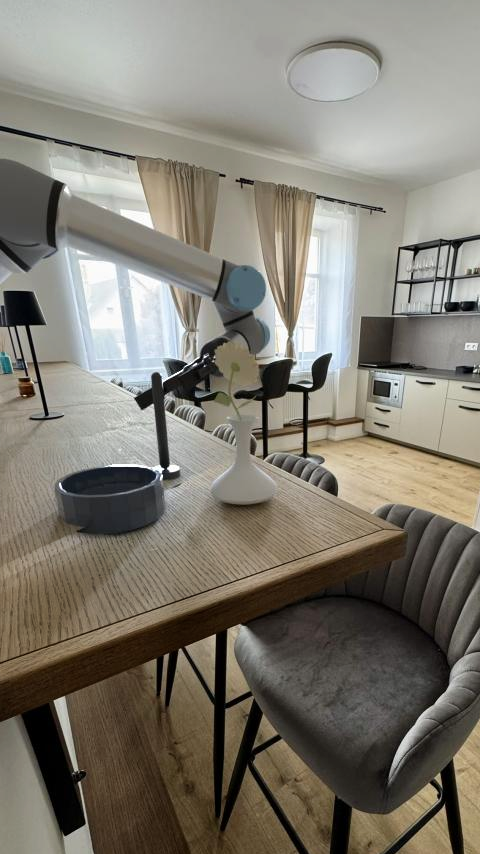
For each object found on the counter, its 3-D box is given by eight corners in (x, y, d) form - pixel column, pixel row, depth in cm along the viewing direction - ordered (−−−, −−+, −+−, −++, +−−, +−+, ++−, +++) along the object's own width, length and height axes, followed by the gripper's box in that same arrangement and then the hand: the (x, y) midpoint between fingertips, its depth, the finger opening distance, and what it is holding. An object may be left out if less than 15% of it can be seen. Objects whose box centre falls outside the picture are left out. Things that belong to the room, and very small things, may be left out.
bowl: (39, 524, 59) (30, 485, 57) (117, 493, 72) (112, 460, 69) (113, 547, 54) (106, 504, 51) (184, 508, 66) (181, 472, 63)
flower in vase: (291, 500, 70) (294, 342, 60) (234, 517, 63) (229, 342, 54) (246, 480, 79) (244, 341, 70) (193, 493, 72) (182, 340, 63)
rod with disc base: (146, 486, 75) (132, 372, 68) (165, 478, 80) (154, 370, 72) (168, 490, 73) (157, 373, 66) (186, 482, 77) (178, 371, 70)
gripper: (275, 352, 83) (215, 395, 69) (195, 386, 98) (133, 427, 84) (258, 315, 80) (192, 352, 66) (179, 356, 95) (111, 393, 81)
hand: (159, 394), depth 75 cm, fingers open, 13 cm apart
